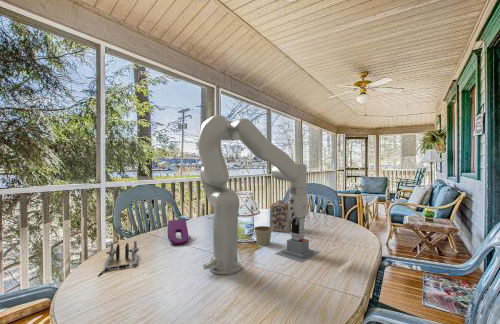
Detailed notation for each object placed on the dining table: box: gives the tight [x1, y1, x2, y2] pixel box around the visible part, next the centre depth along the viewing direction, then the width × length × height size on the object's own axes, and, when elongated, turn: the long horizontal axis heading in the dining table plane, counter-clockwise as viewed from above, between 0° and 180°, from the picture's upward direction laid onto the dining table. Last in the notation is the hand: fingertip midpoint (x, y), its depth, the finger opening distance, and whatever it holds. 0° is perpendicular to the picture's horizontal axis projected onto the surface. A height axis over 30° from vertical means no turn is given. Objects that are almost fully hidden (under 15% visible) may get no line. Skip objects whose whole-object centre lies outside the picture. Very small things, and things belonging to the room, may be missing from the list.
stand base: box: [274, 237, 321, 263], centre depth 115 cm, size 16×14×8 cm
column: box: [291, 217, 305, 242], centre depth 115 cm, size 4×4×14 cm
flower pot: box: [253, 225, 273, 246], centre depth 129 cm, size 9×9×9 cm
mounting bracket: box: [167, 218, 190, 246], centre depth 138 cm, size 10×8×18 cm
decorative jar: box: [269, 199, 292, 233], centre depth 159 cm, size 12×12×18 cm
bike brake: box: [97, 240, 140, 278], centre depth 105 cm, size 14×7×20 cm
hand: (297, 231), depth 115 cm, fingers closed on column, 4 cm apart
